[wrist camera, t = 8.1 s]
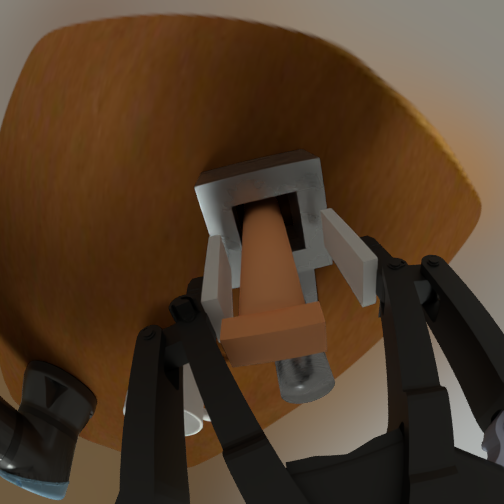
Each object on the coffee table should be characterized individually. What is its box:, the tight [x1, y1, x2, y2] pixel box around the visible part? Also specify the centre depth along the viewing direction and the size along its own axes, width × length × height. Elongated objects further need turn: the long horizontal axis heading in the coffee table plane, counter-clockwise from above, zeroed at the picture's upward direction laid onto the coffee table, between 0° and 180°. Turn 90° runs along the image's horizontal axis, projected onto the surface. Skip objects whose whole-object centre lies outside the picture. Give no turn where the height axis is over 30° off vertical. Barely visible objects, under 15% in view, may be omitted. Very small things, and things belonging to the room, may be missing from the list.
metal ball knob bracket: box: [194, 149, 335, 404], centre depth 20 cm, size 9×17×12 cm, turn 13°
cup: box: [123, 363, 211, 436], centre depth 27 cm, size 8×12×10 cm
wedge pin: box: [220, 196, 327, 367], centre depth 17 cm, size 4×3×15 cm
